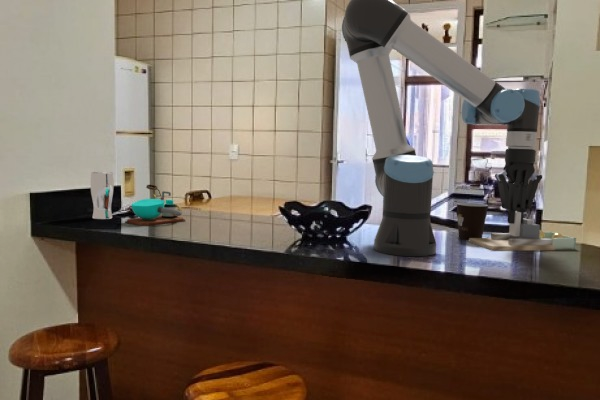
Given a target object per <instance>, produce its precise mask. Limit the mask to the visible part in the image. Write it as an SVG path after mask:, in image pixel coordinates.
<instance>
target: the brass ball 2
mask: <svg viewBox="0 0 600 400" xmlns="http://www.w3.org/2000/svg"><path fill="white" fill-rule="evenodd" d="M554 233H555V234H553V235H552V237H551V238H564V237H563V235H564V234H562V233H559V232H554Z"/></svg>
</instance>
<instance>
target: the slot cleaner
mask: <svg viewBox="0 0 600 400" xmlns="http://www.w3.org/2000/svg"><path fill="white" fill-rule="evenodd" d="M533 221H534V220H533V219H531V218H530V219H529V218H525V217H523V223H522V224H520V235H519V236H512V235H510V239H539V233H540V230H541V229H540V228H541V225H540V224H536V223H533Z"/></svg>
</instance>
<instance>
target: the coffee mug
mask: <svg viewBox="0 0 600 400" xmlns="http://www.w3.org/2000/svg"><path fill="white" fill-rule="evenodd" d="M488 208H489V205H488V204H485V203H474V202H457V203H456V217H457V230H458V231H457V233H458V239H460V240H462V241H463V240H464V241H469V238H483V234H484V231H485V230H484V228H485V225H486V218H487V213H488Z"/></svg>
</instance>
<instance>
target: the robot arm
mask: <svg viewBox="0 0 600 400" xmlns="http://www.w3.org/2000/svg"><path fill="white" fill-rule="evenodd" d="M345 8H346V9H345V12H344V16H343V19H342V23H341V32H342V36H343V39H344V41H345V43H346V46H347V50H348V54H349V55H348V56H349V59H350V60H351V61H353V62H355V63H356V64H357V68H358V73H359V78H360V83H361V88H362V92H363V96H364V101H365V106H366V110H367V113H368V114H367V115H368V120H369V123H370V129H371V133H372V137H373V143H374V146H375V152H374V154H373V156H372V157H371V159H372V164H373V169H374V173H375V180H374V183H375V186H376V189H377V191H378V192H379V193H380V195H381V196H382V197H383V198H382V199H383V200H382V219H381V221H380V223H379V227H378V229H377V232H376V235H375V237H374V239H373V240H374V241H373V242H374V244H373V249H374V250H375V251H377V252H379V253H383V254H385V255H386V254H387V255H392V256H400V257H426V256H432V255H435V254H436V253H437V242H436V241H437V240H436V239H435V234H434V230H433V227H432V223H431V222H432V221H431V213H432V211H431V210H432V197H433V195H432V194H433V177H434V173H435V171H434V163H433V161H432V160H431V159H430V158H428V157H425V156H420V155H417V153H416V149H415V147H413V146H412V145H410V144H409V142H408V139H407V133H406V130H405V129H406V128H405V125H404V120H403V116H402V110H401V105H400V101H399V96H398V92H397V86H396V83H395V82H396V81H395V77H394V72H393V68H392V63H391V59H390V54H391V52H392V51H393V50H394V51H396V52H397V53H399V54H400V55H402V56H403V57H405V59H407V60H409V61H410V62H411V63H413V64H414V65H415V66H417V67H419V69H421V70H423V72H425V73H427V74H428V75H429V76H431V77H432V78H434V79H435V80H436V81H438V82H439V83H440V84H442V86H443V85H444V86H445V87H446V88H447V89H449V90H450V91H452V92H453V93H455V94H456V95H457V96H459V97H460V98H461V99H463V103H462V107H461V118H462V121H463V123H465V124H468V125H474V126H475V125H476V126H477V125H485V126H486V125H487V126H490V125H491V126H494V125H495V126H496V125H497V126H507V127H506V128H507V129H506V138H505V139H506V140H505V146H506V147H507V148H506V149H505V150H504V151H505V152H504V154H505V155H504V162H505V164H504V167H503V170H502V171H501V172H499V173H497V172H496V173H495V174H494V178H495V179H496V181H497V185H498V192H499V197H500V198H499V199H500V205H501V208H502V209H504V210H506V211H507V224H509V228H508V229H509V230H508V233H509V235H512V236H519V235H520V224H522V223H523V218H524V214H525V213H527V211H529V210H531V209H532V206H533V202H534V199H535V197H536V193H537V190H538V186H539V183H540V182H541V180H542V179H543V175H542V174H538V172H536V169H535V166H534V164H535V162H536V154H537V151H536V149H535V148H537V141H538V126H539V117H540V116H539V115H540V108H541V106H540V105H541V101H540V100H541V95H540V94H541V93H540V91H539V90H537V89H534V88H514V89H511V88H506V87H504V86H503V85H501V84H500V83H499V82H497V81H495V80H494V79H493V78H491V77H490V76H488V75H487V74H486V73H484V72H483V71H481V70H480V69H479V68H477V67H476V66H474V65H473V64H472V63H470V62H469V61H468V60H467V59H465V58H464V57H462V56H461V55H459V54H458V53H457V52H455V51H454V50H453V49H451V48H450V47H449V46H447V45H446V44H445V43H443V42H442V41H440V40H439V39H437V37H435V36H433V35H432V34H431V33H430V32H428V31H427V30H425V29H424V28H422V27H421V26H420V25H418V24H417V23H416V22H414V21H413V20H412V19H411V13H410V12H408V11H407V10H406V9H405V8H403V7H402V6H400V5H399V4H397V3H396V2H395V1H394V0H349V2H348V4H347V5H346V7H345ZM507 179H508V180H507Z"/></svg>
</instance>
